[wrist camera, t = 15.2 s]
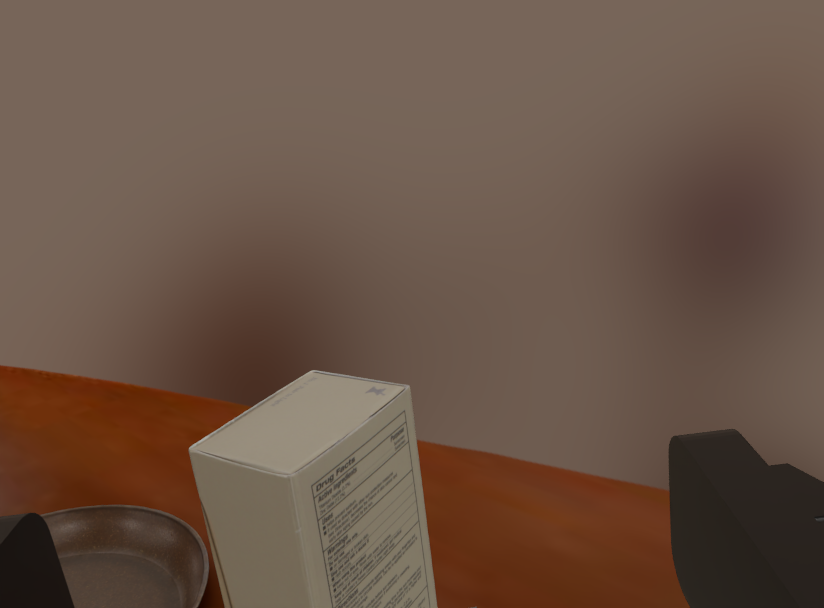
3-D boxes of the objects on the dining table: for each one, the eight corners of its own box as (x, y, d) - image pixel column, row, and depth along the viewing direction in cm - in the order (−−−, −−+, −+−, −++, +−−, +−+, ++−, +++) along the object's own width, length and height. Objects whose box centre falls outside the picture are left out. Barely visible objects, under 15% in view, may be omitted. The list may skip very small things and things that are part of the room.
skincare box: (358, 640, 32) (313, 365, 28) (453, 677, 29) (416, 380, 26) (250, 760, 27) (178, 444, 23) (353, 815, 24) (290, 472, 21)
